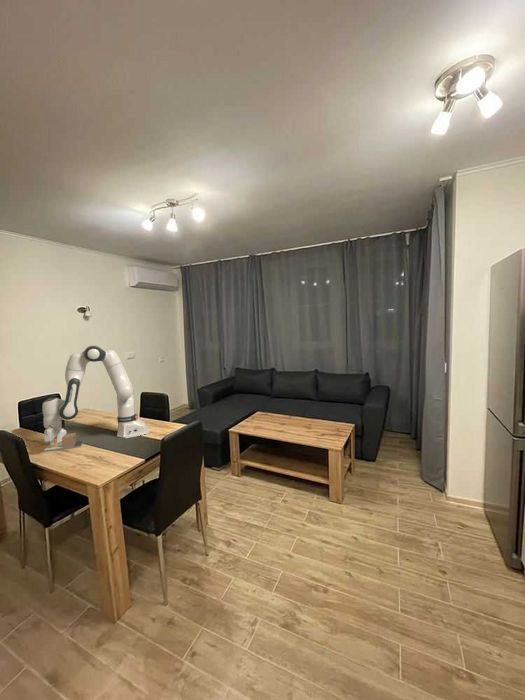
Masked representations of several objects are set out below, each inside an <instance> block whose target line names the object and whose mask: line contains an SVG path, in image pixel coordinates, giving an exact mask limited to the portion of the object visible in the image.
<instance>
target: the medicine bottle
mask: <svg viewBox="0 0 525 700" xmlns="http://www.w3.org/2000/svg"><path fill="white" fill-rule="evenodd" d="M65 434H67V430H66V429H65V428H64V423H62V429H61V432H60V433H59V434H58V435H57V443H61V441H62V437H63V436H64V435H65Z"/></svg>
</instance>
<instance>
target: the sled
mask: <svg viewBox="0 0 525 700" xmlns="http://www.w3.org/2000/svg"><path fill="white" fill-rule="evenodd" d="M54 441H55V444H54V445H51V443H50V442H49V443H50V445H51V448H53V447H58V446H61V447H62V446H63V444H62V441H61V442H59V443H57V438H54ZM73 442H74V440H73Z"/></svg>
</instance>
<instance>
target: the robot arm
mask: <svg viewBox="0 0 525 700" xmlns="http://www.w3.org/2000/svg"><path fill="white" fill-rule="evenodd" d="M90 362H102V364H103V366H104V368H105V370H106V372H107V374H108V376H109V379H110V381H111V383H112V386H113V388H114V390H115V393H116V401H117V402H116V403H117V404H116V405H117V407H116V408H117V420H116V421H117V424H118V425H117V434H116V437H118V438H123V439H129V438H136V437H139V436H140V435H141V436H145V435H144V434H146V435H148V434H149V433H150V432H151V429H150V427H148V426H147V423H146V422H145V421H144V420H141V419H139V416H138V415H139V414H138V413H135V399H134V398H135V397H134V385H133V383H132V382H131V380H130V378H129V376H128V375H129V374H128V373H127V371H126V369H125V367H124V364H123V362H122V360H121V358H120V356H119V355H118V353H117V352H116V351H115V350H113V349H107V350H104V349H102V348H101V347H100V346H98V345H95V344H92V345H89V346H87V347H86V348H85V349H84V350H83V352H81V353H80V352H75V353H72V354H71V355H70V356H69V358H68V361H67V363H66V366H65V367H66V368H65V373H64V379H65V382H66V395H65V399H62V398H58V397H50V398H47V399H45V400H44V401H43V402H42V415H43V419H42V420H43V427H44V428H45V429H44V433H43V439H44V440H43V441H44V442H45V443H51V444H50V445H54V444H55V441H54V438H57V435H58V434H59V433H60V432H61V429H62V424H63V423H62V422H63V420H66V421H68V420H69V421H70V420H73V419H75V418H76V417H77V416H78V413H79V409H78V408H79V407H78V405H77V402H78V396H79V392H80V391H79V390H80V387H81V385H82V382H83V379H84V377H85V374H86V368H87V366H88V364H89V363H90Z"/></svg>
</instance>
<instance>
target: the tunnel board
mask: <svg viewBox="0 0 525 700" xmlns="http://www.w3.org/2000/svg"><path fill="white" fill-rule="evenodd" d="M73 440H74V442H73ZM62 444H63V446H62V447H61V446H58V447H53V448H51V444H50V445H47V446H46V448H44V451H43V452H44V453H47V452H48V453H49V452H53V451H54V452H55V451H61V450H69V449H77V448H81V447H82V446H83V444H84V440H82V441H77V433H76V432H72V433H71V432H70V433H66V434H65V435H64V436H63V437H62Z"/></svg>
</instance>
